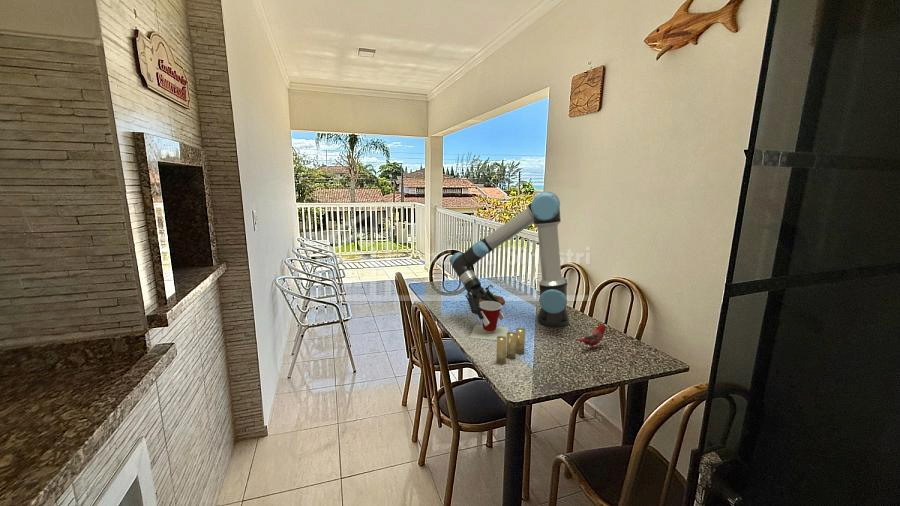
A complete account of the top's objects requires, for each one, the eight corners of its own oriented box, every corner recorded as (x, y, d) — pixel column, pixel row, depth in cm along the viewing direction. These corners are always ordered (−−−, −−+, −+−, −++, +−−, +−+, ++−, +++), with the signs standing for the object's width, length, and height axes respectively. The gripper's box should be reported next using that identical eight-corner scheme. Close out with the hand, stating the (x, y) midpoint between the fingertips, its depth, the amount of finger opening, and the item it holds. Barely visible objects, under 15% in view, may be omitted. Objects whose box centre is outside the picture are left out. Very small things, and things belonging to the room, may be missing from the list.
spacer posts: (526, 352, 150) (527, 329, 149) (501, 365, 140) (502, 340, 138) (519, 349, 153) (519, 327, 151) (494, 362, 143) (494, 337, 141)
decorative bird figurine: (607, 346, 156) (609, 323, 154) (577, 355, 148) (578, 331, 146) (602, 343, 159) (603, 321, 157) (572, 352, 150) (573, 329, 149)
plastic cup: (486, 335, 163) (486, 309, 161) (473, 327, 173) (473, 302, 171) (506, 330, 168) (506, 305, 166) (492, 323, 178) (493, 299, 176)
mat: (508, 328, 177) (508, 327, 177) (505, 341, 161) (505, 340, 161) (475, 325, 180) (475, 324, 180) (469, 338, 165) (469, 337, 165)
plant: (502, 310, 203) (503, 290, 201) (468, 307, 208) (468, 288, 206) (506, 299, 223) (506, 281, 220) (474, 297, 227) (474, 279, 225)
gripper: (482, 281, 186) (506, 319, 177) (449, 290, 171) (473, 332, 162) (490, 273, 181) (515, 311, 172) (457, 281, 166) (483, 324, 158)
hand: (495, 321), depth 167 cm, fingers closed on plastic cup, 10 cm apart
